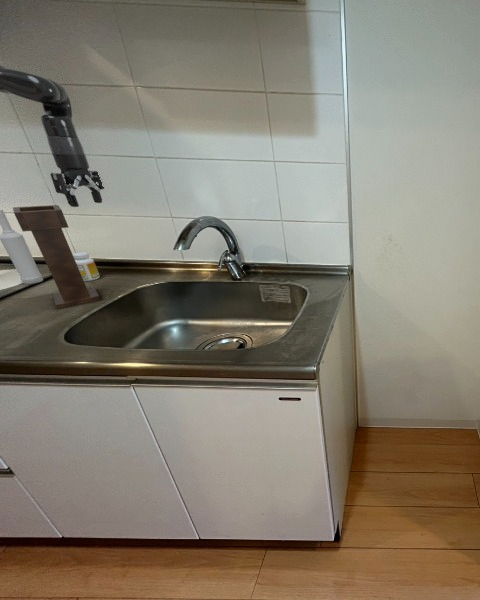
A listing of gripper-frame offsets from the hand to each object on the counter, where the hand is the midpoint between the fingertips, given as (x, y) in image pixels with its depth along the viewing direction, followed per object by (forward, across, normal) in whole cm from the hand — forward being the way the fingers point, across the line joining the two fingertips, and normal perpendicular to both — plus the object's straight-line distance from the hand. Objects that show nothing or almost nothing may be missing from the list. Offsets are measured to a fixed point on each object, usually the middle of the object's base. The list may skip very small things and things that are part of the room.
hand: (87, 204), depth 105 cm
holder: (+27, +18, +4) cm, 33 cm away
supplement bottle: (+27, +2, -7) cm, 28 cm away
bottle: (+28, +8, -22) cm, 36 cm away
